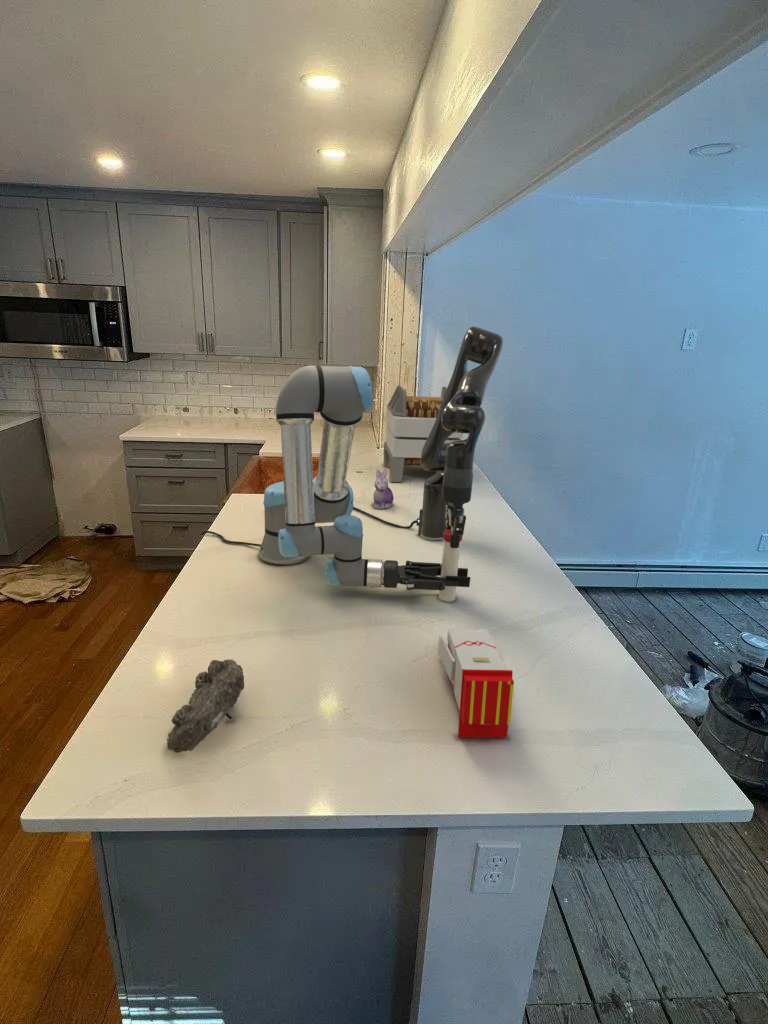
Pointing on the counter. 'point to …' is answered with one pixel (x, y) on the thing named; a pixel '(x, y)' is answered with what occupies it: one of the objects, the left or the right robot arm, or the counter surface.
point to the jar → (449, 570)
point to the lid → (449, 535)
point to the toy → (478, 682)
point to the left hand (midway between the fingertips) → (468, 577)
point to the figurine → (382, 491)
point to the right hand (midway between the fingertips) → (452, 543)
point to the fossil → (206, 705)
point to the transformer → (409, 430)
